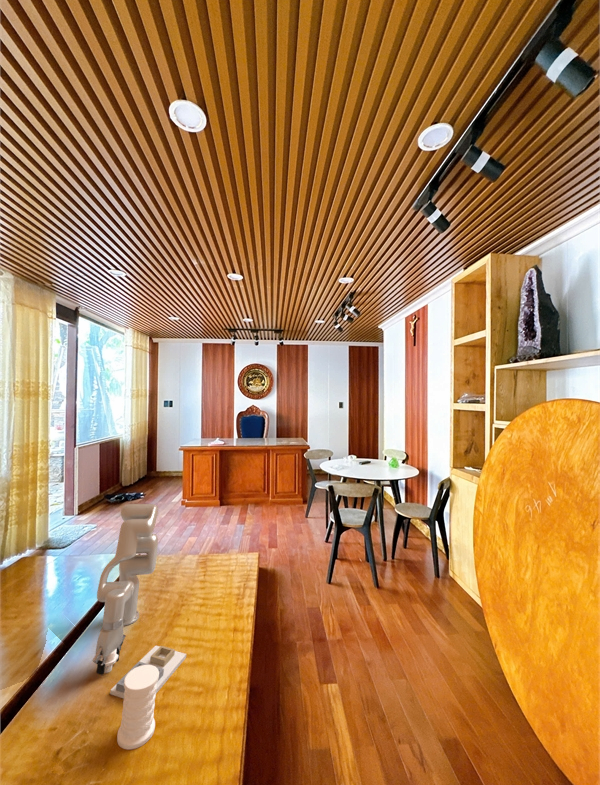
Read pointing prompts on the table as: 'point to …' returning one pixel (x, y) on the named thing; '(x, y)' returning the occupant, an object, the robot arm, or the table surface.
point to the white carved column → (138, 707)
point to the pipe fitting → (110, 661)
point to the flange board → (161, 659)
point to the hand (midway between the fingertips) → (107, 666)
